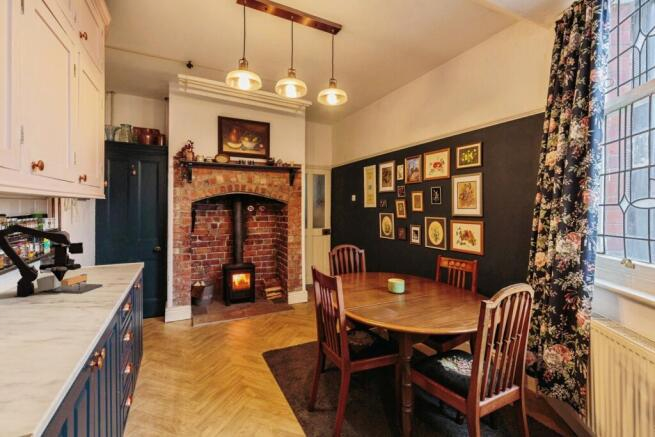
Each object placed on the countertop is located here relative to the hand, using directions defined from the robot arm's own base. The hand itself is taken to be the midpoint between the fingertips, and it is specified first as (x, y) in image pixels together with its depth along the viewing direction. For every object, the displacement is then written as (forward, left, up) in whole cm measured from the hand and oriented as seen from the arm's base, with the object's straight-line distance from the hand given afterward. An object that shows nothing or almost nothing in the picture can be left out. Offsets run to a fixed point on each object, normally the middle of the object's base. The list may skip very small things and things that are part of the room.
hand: (60, 281), depth 173 cm
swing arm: (+5, -5, -2) cm, 7 cm away
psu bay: (+5, -5, -6) cm, 9 cm away
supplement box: (+9, +11, -2) cm, 14 cm away
